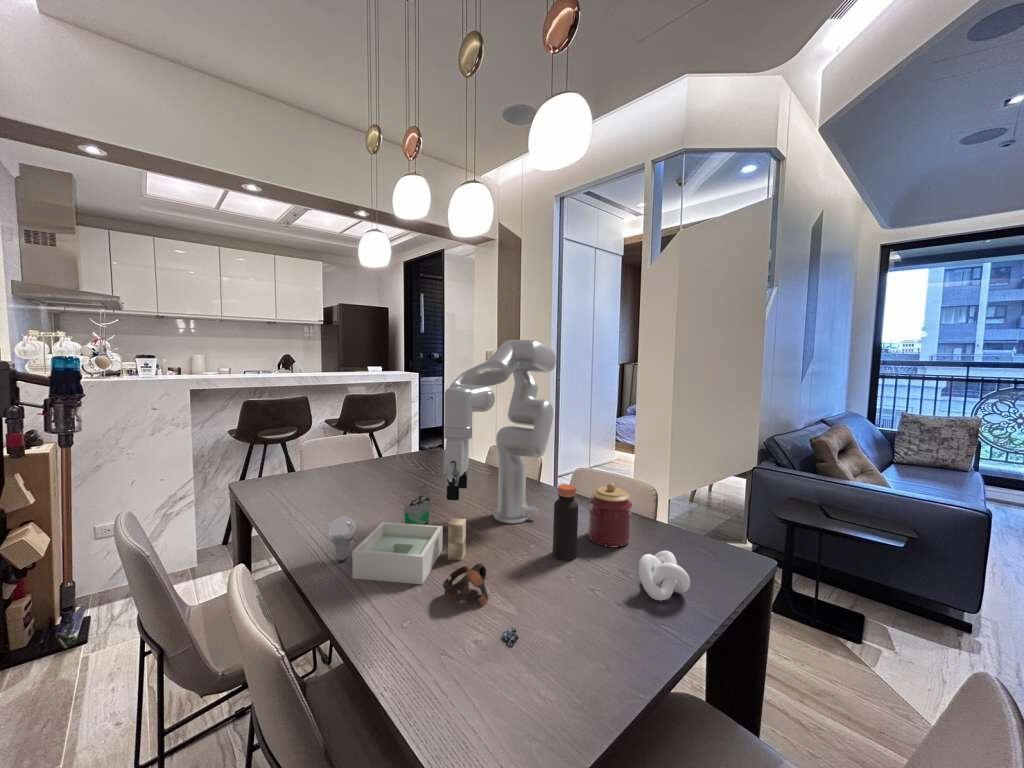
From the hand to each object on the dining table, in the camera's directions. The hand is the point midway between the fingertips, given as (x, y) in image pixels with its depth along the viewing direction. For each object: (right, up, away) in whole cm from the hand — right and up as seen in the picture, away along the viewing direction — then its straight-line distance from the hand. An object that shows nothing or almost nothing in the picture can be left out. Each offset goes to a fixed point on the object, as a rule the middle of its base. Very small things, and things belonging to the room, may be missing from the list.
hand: (457, 493), depth 115 cm
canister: (+45, -18, +15) cm, 51 cm away
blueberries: (+15, -22, -31) cm, 41 cm away
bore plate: (-15, -18, -3) cm, 23 cm away
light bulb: (-31, -18, -2) cm, 36 cm away
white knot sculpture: (+51, -21, -13) cm, 57 cm away
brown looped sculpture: (+5, -20, -17) cm, 27 cm away
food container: (-14, -17, +17) cm, 27 cm away
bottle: (+30, -19, +3) cm, 36 cm away
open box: (-15, -18, -3) cm, 23 cm away
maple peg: (0, -18, +2) cm, 18 cm away
